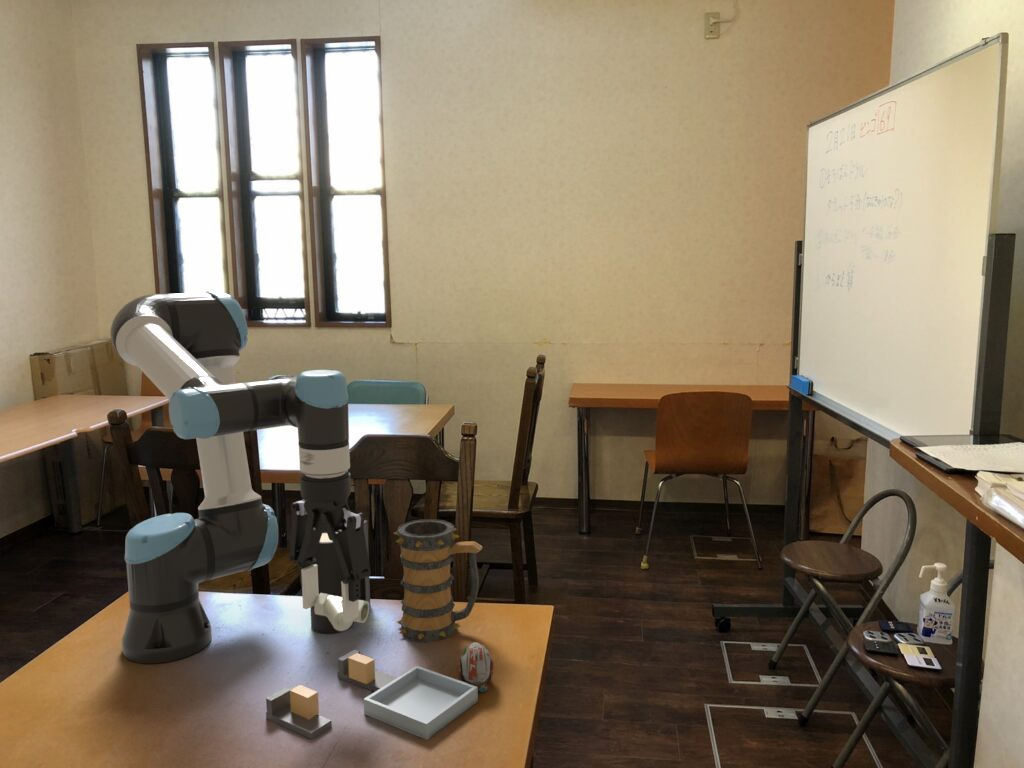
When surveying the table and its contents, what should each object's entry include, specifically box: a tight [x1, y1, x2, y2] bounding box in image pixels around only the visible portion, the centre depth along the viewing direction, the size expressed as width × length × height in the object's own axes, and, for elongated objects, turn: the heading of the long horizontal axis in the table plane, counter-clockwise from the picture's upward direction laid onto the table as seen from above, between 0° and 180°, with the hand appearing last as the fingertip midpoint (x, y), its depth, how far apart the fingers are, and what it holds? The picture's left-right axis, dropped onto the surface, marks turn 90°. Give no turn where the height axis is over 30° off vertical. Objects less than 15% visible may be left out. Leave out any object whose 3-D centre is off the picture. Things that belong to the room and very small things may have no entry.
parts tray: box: [363, 665, 479, 741], centre depth 129 cm, size 13×13×2 cm
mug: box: [393, 518, 483, 642], centre depth 155 cm, size 13×17×20 cm
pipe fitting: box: [314, 593, 370, 632], centre depth 130 cm, size 8×4×7 cm
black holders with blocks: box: [265, 649, 397, 740], centre depth 131 cm, size 10×19×4 cm, turn 146°
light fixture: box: [310, 519, 371, 635], centre depth 160 cm, size 10×14×18 cm
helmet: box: [457, 641, 495, 693], centre depth 136 cm, size 6×8×7 cm
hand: (330, 612), depth 129 cm, fingers closed on pipe fitting, 8 cm apart
